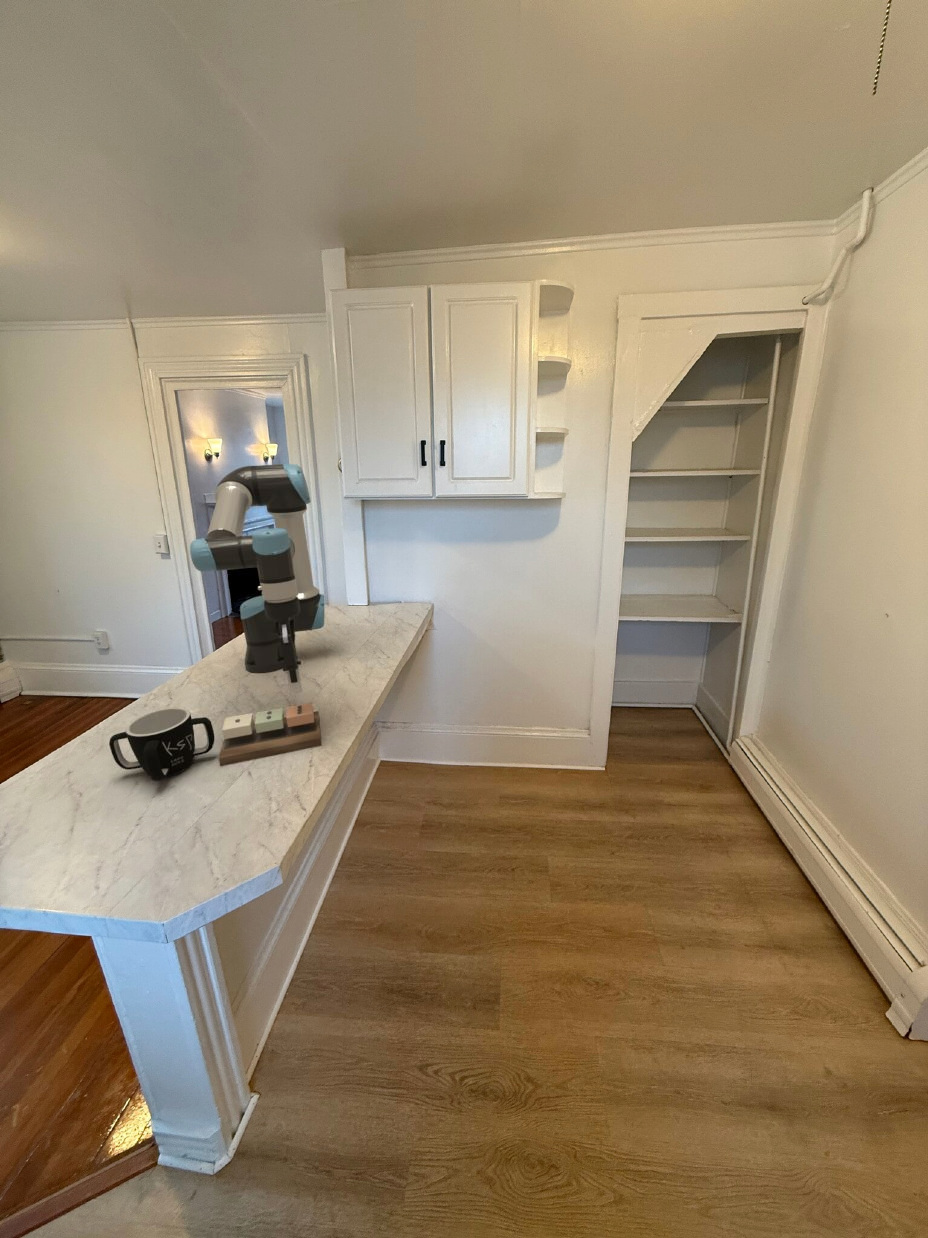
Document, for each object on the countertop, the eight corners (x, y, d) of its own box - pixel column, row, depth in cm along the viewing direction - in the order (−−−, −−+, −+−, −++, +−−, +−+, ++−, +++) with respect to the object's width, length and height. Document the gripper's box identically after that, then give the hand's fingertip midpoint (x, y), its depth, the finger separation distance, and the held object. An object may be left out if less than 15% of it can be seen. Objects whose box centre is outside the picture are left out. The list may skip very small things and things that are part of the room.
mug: (151, 800, 96) (136, 749, 92) (114, 776, 104) (99, 728, 101) (225, 758, 109) (215, 712, 106) (187, 740, 117) (176, 696, 114)
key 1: (227, 726, 114) (225, 716, 114) (254, 721, 116) (252, 712, 115) (224, 739, 109) (221, 729, 108) (251, 734, 111) (249, 724, 110)
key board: (228, 734, 119) (227, 727, 118) (319, 717, 125) (318, 710, 125) (220, 766, 106) (218, 758, 106) (321, 745, 113) (320, 737, 112)
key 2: (258, 720, 116) (256, 711, 116) (284, 716, 118) (282, 706, 117) (256, 733, 111) (254, 723, 110) (283, 728, 113) (281, 718, 112)
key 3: (288, 715, 118) (286, 705, 118) (313, 710, 120) (311, 701, 119) (287, 727, 113) (286, 717, 112) (314, 722, 115) (312, 712, 114)
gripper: (265, 593, 112) (281, 684, 119) (260, 607, 100) (278, 707, 107) (298, 590, 114) (312, 679, 121) (297, 603, 102) (313, 701, 109)
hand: (296, 692), depth 114 cm, fingers closed
